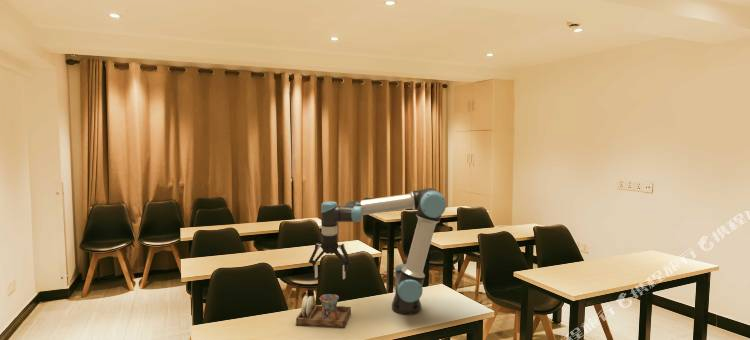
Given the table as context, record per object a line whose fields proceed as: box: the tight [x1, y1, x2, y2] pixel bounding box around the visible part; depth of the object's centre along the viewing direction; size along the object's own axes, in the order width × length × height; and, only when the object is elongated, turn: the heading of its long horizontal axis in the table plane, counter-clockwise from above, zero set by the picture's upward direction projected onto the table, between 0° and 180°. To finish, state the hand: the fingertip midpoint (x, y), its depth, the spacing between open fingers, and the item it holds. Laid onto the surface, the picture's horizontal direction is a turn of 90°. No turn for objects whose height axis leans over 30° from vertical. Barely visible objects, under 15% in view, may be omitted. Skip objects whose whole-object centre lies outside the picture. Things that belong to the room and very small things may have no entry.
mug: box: [319, 293, 340, 320], centre depth 214 cm, size 12×9×11 cm
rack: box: [295, 304, 352, 329], centre depth 215 cm, size 23×17×4 cm
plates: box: [300, 295, 314, 318], centre depth 215 cm, size 3×10×10 cm, turn 173°
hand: (330, 277), depth 213 cm, fingers open, 13 cm apart
